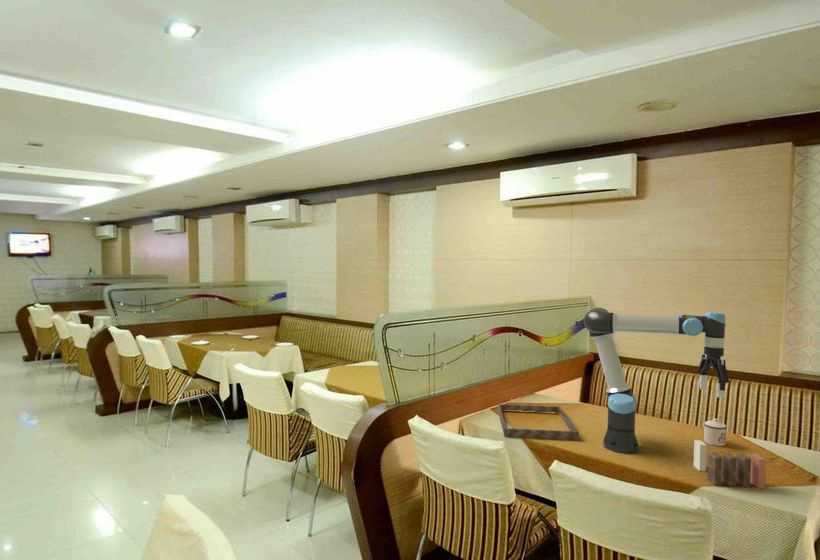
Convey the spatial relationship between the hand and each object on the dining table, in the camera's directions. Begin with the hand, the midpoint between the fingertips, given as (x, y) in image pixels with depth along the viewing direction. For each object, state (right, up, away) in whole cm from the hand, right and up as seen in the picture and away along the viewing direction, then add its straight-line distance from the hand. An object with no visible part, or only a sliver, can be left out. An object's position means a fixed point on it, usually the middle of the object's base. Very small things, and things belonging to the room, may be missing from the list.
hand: (711, 393), depth 213 cm
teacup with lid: (+10, -27, +13) cm, 31 cm away
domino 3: (-13, -28, -31) cm, 44 cm away
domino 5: (-3, -28, -32) cm, 43 cm away
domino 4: (-8, -28, -32) cm, 43 cm away
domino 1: (-16, -27, -18) cm, 36 cm away
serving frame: (-71, -25, +35) cm, 83 cm away
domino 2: (-18, -27, -31) cm, 45 cm away
